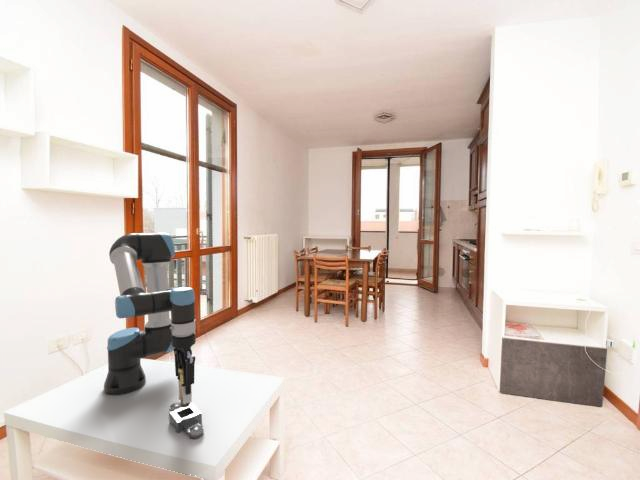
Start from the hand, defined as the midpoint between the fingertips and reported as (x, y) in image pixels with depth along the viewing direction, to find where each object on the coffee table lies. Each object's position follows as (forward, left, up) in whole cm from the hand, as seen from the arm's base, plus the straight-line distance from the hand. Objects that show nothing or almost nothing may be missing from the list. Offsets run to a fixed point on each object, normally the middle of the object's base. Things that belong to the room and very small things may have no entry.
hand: (185, 400), depth 111 cm
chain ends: (0, 0, -8) cm, 8 cm away
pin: (0, 0, -2) cm, 2 cm away
